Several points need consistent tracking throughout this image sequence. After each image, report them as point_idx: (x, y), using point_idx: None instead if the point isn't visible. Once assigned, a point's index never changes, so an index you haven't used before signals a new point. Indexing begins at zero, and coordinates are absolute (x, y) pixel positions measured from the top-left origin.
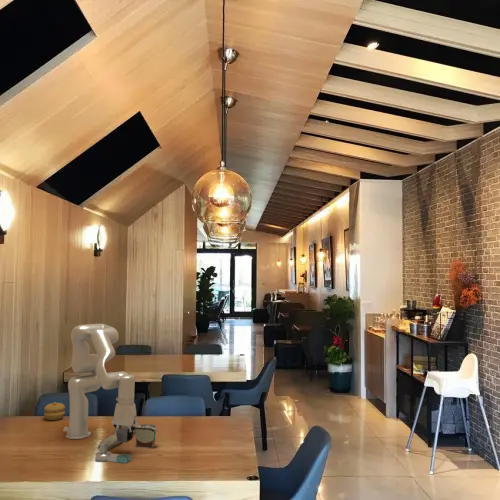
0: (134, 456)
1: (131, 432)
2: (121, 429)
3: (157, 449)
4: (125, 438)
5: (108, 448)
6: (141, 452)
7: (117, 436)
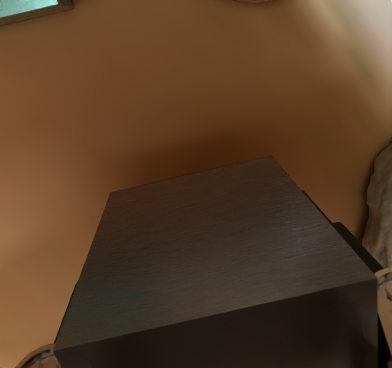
0: (24, 149)
1: (49, 357)
2: (236, 298)
3: (9, 357)
4: (127, 214)
5: (380, 164)
6: (61, 255)
7: (287, 184)
